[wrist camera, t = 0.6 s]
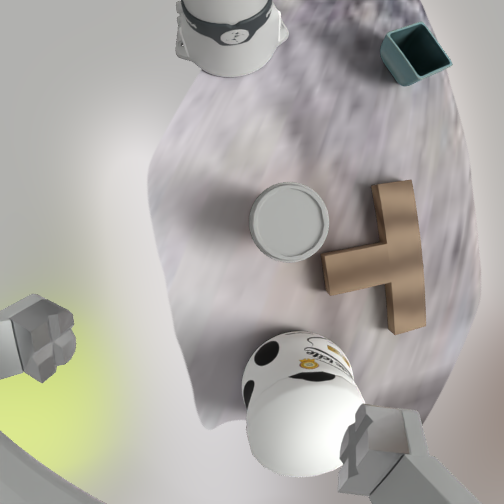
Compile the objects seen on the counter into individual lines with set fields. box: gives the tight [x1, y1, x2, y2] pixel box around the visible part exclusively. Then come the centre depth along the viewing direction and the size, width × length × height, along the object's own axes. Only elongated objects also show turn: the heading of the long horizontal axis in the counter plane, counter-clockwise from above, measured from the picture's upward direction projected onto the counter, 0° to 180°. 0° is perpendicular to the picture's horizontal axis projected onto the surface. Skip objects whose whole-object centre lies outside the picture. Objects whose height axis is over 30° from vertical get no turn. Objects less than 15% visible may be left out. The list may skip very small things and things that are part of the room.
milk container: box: [242, 331, 366, 477], centre depth 43 cm, size 17×17×18 cm
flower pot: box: [380, 22, 453, 86], centre depth 41 cm, size 9×9×9 cm
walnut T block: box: [321, 180, 426, 335], centre depth 48 cm, size 24×16×3 cm, turn 11°
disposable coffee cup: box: [249, 182, 329, 263], centre depth 43 cm, size 10×10×12 cm
